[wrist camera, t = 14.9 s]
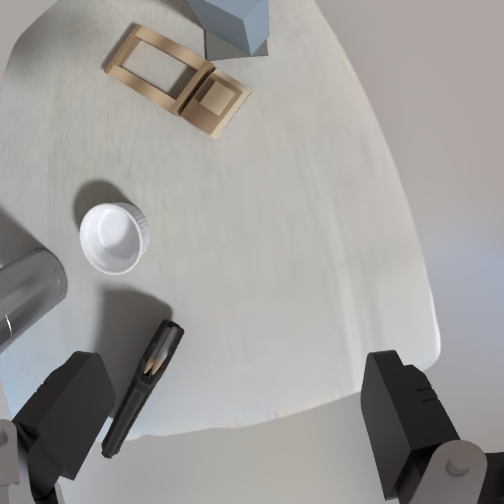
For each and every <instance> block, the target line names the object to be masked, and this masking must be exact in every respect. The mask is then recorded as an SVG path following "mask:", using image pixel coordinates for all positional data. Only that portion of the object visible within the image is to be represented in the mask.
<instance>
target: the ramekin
mask: <svg viewBox="0 0 504 504" xmlns="http://www.w3.org/2000/svg"><path fill="white" fill-rule="evenodd" d="M149 239H150V231H149V226H148V223H147V221H146V219H145V217H144V215H143V214H142V213H141V212H140V210H139V209H137V208H136V207H135V206H133V205H131V204H128V203H123V202H116V203H102V204H99V205H96V206H94V207H93V208H91V209H90V210H89V211H88V212H87V213H86V214H85V216H84V218H83V220H82V223H81V226H80V244H81V247H82V250H83V253H84V255H85V257H86V258H87V260H88V261H89V262H90V263H91V264H92V265H93V266H94V267H95V268H96V269H98V270H99V271H101V272H103V273H106V274H109V275H120V274H124V273H126V272H128V271H130V270H131V269H132V268H133V267H134V266H135V265H136V264H137V262H138V261H139V259H140V257H141V256H142V255H143V253H144V252H145V251H146V249H147V247H148V243H149Z"/></svg>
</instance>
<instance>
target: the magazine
mask: <svg viewBox="0 0 504 504" xmlns="http://www.w3.org/2000/svg"><path fill="white" fill-rule="evenodd" d="M183 334H184V329H182V328H181V327H180V326H179V325H178V324H176V323H174V322H173V321H168V320H166V319H165V320H163V321H162V323H161V325H160V326H159V328H158V330H157V332H156V333H155V335H154V337H153V339H152V340H151V342H150V344H149V346H148V348H147V350H146V351H145V353H144V355H143V357H142V359H141V361H140V363H139V365H138V368H137V371H136V373H135V375H134V377H133V379H132V381H131V383H130V386H129V387H128V390H127V392H126V394H125V396H124V398H123V400H122V403H121V405H120V406H119V409H118V411H117V413H116V415H115V417H114V420H113V422H112V424H111V426H110V428H109V430H108V433H107V434H106V436H105V438H104V440H103V442H102V450H103V451H102V455H103V456H104V457H105V458H109V459H110V458H112V456H113V455H115V454H117V453H118V452H119V450H120V447H121V445H122V444H123V441H124V440H125V438H126V436H127V434H128V433H129V430H130V429H131V427H132V425H133V423H134V422H135V420H136V418H137V417H138V414H139V413H140V411H141V410H142V407H143V406H144V404H145V402H146V401H147V399H148V397H149V395H150V394H151V393H152V390H153V389H154V387H155V385H156V384H157V382H158V381H159V380H160V378H161V376H162V375H163V373H164V371H165V370H166V368H167V366H168V364H169V362H170V360H171V358H172V356H173V354H174V352H175V350H176V348H177V346H178V344H179V342H180V340H181V338H182V336H183Z"/></svg>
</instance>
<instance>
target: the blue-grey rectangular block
mask: <svg viewBox="0 0 504 504" xmlns="http://www.w3.org/2000/svg"><path fill="white" fill-rule="evenodd" d="M186 1H187V2H188V4H189V6H190V7H191V9H192V11H193V12H194V14H195V15H196V17H197V19H198V20H199V22H200V24H201V25H202V27H203V29H204V30H206V31H208V32H210V33H212V34H214V35H216V36H218V37H219V38H221V39H223V40H225V41H226V42H228V43H230V44H232V45H233V46H235V47H237V48H239V49H240V50H242V51H244V52H245V53H247V54H249V55H250V56H252V55H253V54H254V53H255V51H256V50H257V49H258V48H259V47H260V46H261V44H262V43H263V42H264V41H265V40H266V39H267V37H268V36H269V9H268V0H186Z"/></svg>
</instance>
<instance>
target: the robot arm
mask: <svg viewBox="0 0 504 504" xmlns="http://www.w3.org/2000/svg"><path fill="white" fill-rule="evenodd" d="M66 293H67V278H66V274H65V271H64V269H63V267H62V265H61V264H60V262H59V261H58V259H57V258H56V257H55V256H54V255H53V254H51V253H50V252H49V251H46V250H44V249H36V250H34V251H32V252H30V253H28V254H26V255H24V256H22V257H20V258H18V259H16V260H14V261H12V262H11V263H9V264H7V265H5V266H3V267H2V268H0V354H1V353H2V352H3V351H4V350H5V349H6V348H7V347H8V346H9V345H11V344H12V343H13V342H14V341H15V340H16V339H17V338H18V337H19V336H21V335H22V334H23V333H24V332H25V331H26V330H27V329H29V328H30V327H31V326H32V325H33V324H34V323H36V322H37V321H38V320H39V319H40V318H41V317H43V316H44V315H45V314H46V313H47V312H49V311H50V310H51V309H52V308H54V307H55V306H56V305H57V304H58V303H60V302H61V301H62V300H63V299H64V298H65V295H66ZM114 402H115V394H114V389H113V387H112V384H111V382H110V379H109V377H108V374H107V371H106V369H105V366H104V363H103V360H102V358H101V356H100V355H99V354H97V353H91V352H82V351H76V352H74V353H73V354H72V355H71V357H70V358H69V359H68V360H67V361H66V362H65V364H63V365H62V366H60V367H59V368H57V369H56V370H54V371H53V372H51V374H50V375H49V376H48V377H47V378H46V379H45V381H44V384H41V385H40V387H39V388H38V389H37V392H35V393H34V394H33V395H32V396H31V397H30V399H29V400H28V401H27V402H26V404H25V405H24V406H23V407H22V409H21V410H20V411H19V412H18V414H17V415H16V416H15V417H14V419H13V420H12V421H9V420H5V419H0V504H65V503H64V500H63V495H62V491H61V487H60V485H59V483H58V482H57V480H58V478H59V476H62V477H65V478H68V479H71V480H73V481H74V479H75V477H76V475H77V473H78V471H79V470H80V468H81V466H82V464H83V462H84V460H85V458H86V456H87V454H88V453H89V451H90V449H91V447H92V445H93V443H94V441H95V439H96V438H97V436H98V434H99V432H100V430H101V428H102V427H103V425H104V423H105V421H106V419H107V417H108V416H109V414H110V412H111V410H112V408H113V406H114ZM361 410H362V414H363V417H364V421H365V425H366V428H367V432H368V435H369V439H370V443H371V446H372V450H373V454H374V458H375V461H376V465H377V469H378V473H379V477H380V481H381V485H382V489H383V494H384V498H385V501H386V500H391V499H395V498H398V499H399V503H400V504H504V452H499V453H484V452H483V451H482V450H481V448H479V447H478V446H477V445H475V444H473V443H472V442H469V441H464V440H461V439H460V437H459V436H458V434H457V432H456V430H455V428H454V426H453V424H452V422H451V420H450V418H449V417H448V415H447V413H446V411H445V409H444V407H443V406H442V404H441V402H440V400H438V397H437V395H436V393H435V391H434V390H433V389H432V386H431V384H430V382H429V381H428V379H427V377H426V375H425V374H424V373H423V372H421V371H420V370H419V369H417V368H416V367H415V366H413V365H405V366H404V365H403V363H402V361H401V359H400V358H399V356H398V354H397V352H396V351H395V350H387V351H379V352H371V353H369V354H368V355H367V359H366V366H365V372H364V378H363V384H362V390H361Z"/></svg>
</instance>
